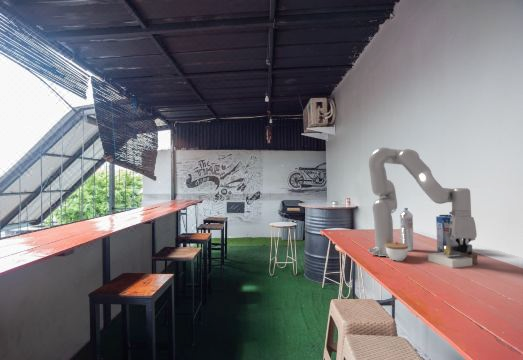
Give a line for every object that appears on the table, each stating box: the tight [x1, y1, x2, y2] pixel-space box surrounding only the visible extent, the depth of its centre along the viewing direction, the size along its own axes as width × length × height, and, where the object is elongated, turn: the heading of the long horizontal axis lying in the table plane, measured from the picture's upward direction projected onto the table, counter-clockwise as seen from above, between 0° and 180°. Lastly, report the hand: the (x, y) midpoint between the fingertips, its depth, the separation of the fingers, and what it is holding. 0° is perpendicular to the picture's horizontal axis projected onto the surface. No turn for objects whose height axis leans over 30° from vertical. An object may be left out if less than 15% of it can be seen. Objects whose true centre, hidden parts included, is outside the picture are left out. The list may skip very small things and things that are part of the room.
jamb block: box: [459, 252, 478, 266], centre depth 143 cm, size 4×6×5 cm, turn 15°
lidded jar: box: [385, 241, 409, 262], centre depth 152 cm, size 11×11×9 cm
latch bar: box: [444, 243, 473, 256], centre depth 141 cm, size 16×4×4 cm, turn 104°
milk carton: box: [435, 215, 459, 253], centre depth 166 cm, size 10×6×20 cm, turn 88°
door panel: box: [427, 252, 473, 269], centre depth 144 cm, size 12×14×4 cm
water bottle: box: [399, 207, 415, 252], centre depth 173 cm, size 7×7×25 cm
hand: (463, 252), depth 138 cm, fingers closed
